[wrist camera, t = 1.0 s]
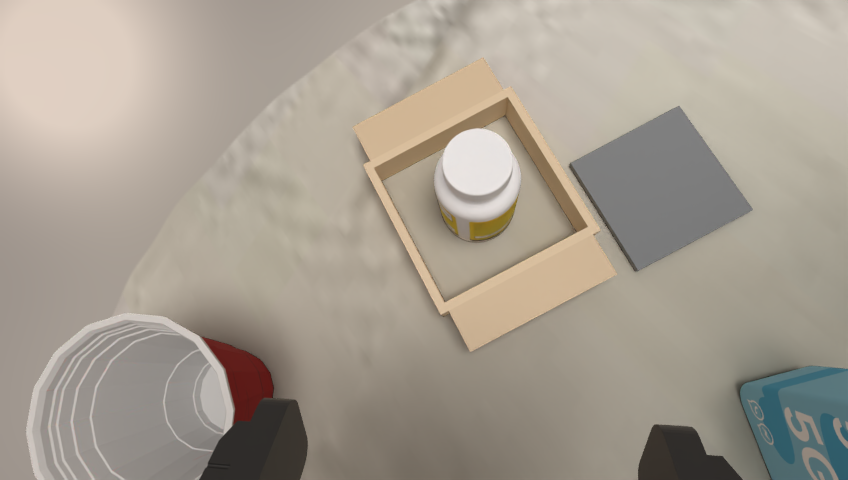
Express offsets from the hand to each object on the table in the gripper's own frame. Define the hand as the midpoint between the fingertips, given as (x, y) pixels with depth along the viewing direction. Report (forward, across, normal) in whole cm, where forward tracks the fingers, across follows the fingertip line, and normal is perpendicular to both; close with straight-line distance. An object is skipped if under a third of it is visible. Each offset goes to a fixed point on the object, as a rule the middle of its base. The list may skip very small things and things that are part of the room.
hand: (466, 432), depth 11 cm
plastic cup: (+15, +17, +19) cm, 30 cm away
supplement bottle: (+25, 0, +9) cm, 27 cm away
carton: (+25, 0, +8) cm, 27 cm away
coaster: (+26, -13, +7) cm, 30 cm away
